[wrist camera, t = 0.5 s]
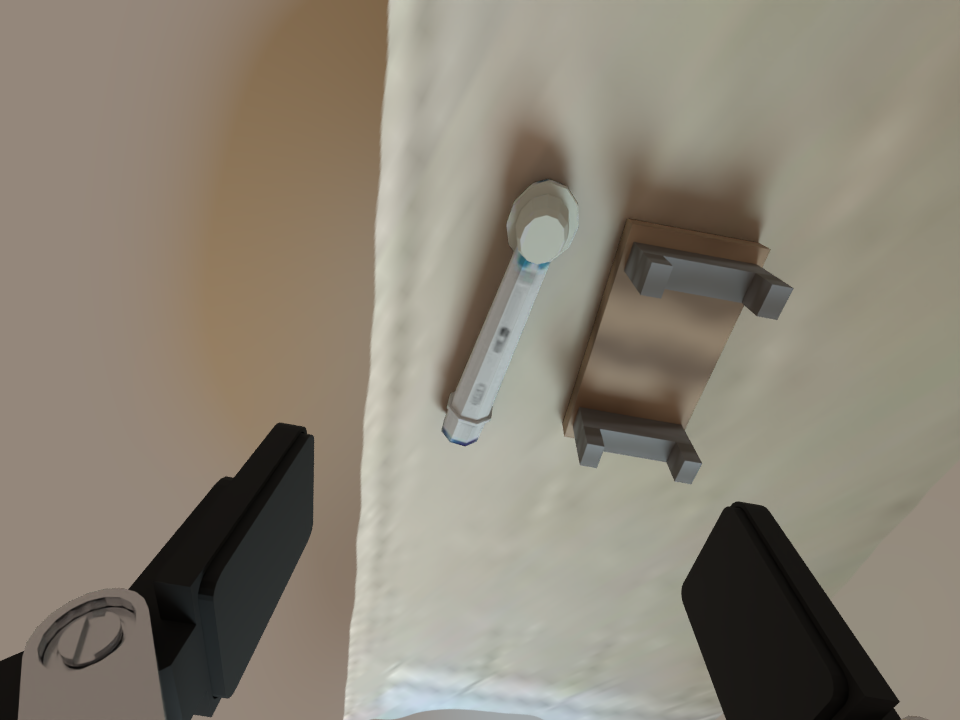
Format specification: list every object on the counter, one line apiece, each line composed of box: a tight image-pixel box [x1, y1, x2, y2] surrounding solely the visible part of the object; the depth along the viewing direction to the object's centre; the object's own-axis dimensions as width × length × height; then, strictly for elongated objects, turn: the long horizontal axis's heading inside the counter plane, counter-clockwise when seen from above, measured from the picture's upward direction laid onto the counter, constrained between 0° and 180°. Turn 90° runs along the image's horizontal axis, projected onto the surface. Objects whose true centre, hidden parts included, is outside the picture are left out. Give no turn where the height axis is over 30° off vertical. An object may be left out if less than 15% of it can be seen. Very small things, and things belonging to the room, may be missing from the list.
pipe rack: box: [563, 219, 794, 484], centre depth 40 cm, size 21×11×8 cm, turn 171°
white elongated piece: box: [442, 179, 579, 446], centre depth 41 cm, size 5×7×25 cm
